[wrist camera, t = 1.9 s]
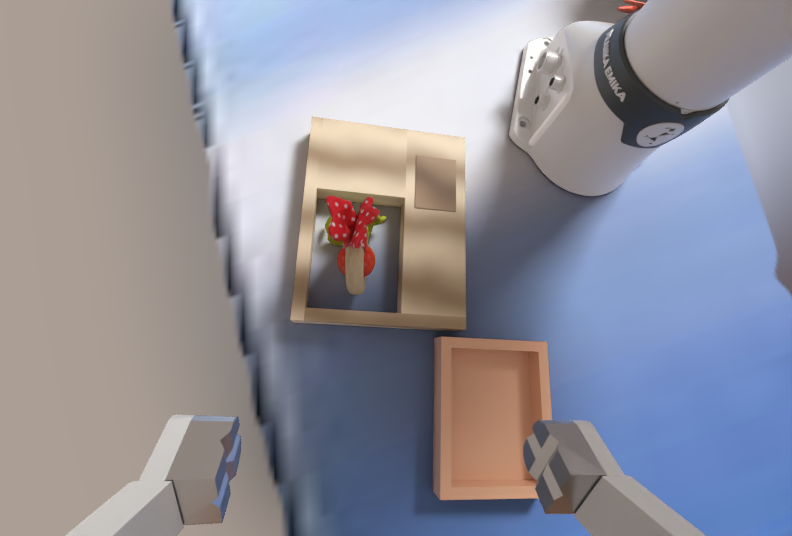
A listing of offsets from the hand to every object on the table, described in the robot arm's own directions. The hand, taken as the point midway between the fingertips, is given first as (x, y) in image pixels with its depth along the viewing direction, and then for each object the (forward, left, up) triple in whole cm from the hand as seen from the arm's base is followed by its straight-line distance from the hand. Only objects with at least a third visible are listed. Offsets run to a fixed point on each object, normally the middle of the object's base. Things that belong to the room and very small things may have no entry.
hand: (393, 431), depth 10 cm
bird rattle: (-12, 0, -27) cm, 30 cm away
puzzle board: (-16, +3, -27) cm, 31 cm away
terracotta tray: (+3, +14, -27) cm, 30 cm away
